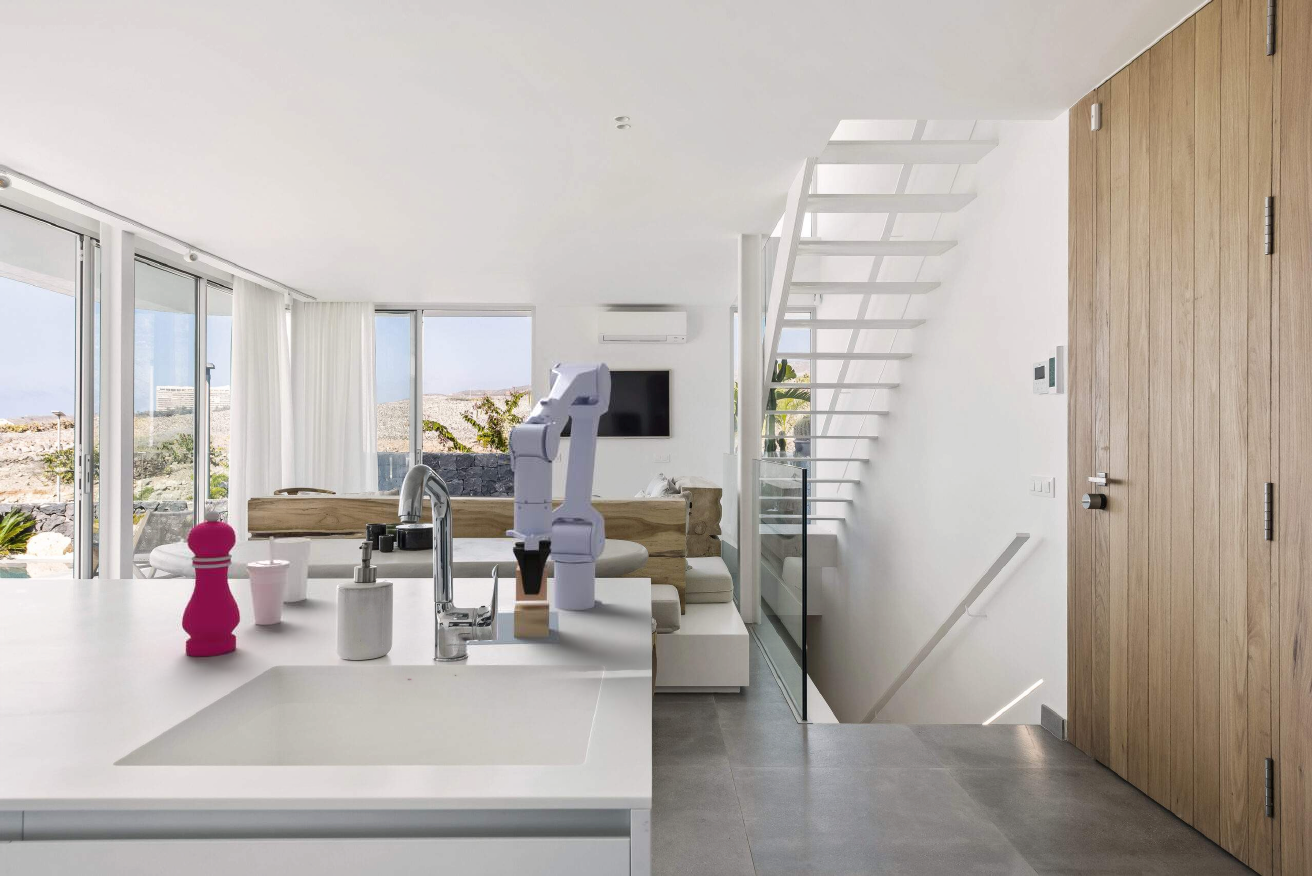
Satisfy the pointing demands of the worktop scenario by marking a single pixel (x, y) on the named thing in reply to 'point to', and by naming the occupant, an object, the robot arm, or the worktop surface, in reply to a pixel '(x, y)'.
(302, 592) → the cup
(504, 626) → the board
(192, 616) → the pepper mill
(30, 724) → the worktop surface
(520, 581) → the terracotta block
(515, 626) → the oak base block
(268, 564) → the smoothie
